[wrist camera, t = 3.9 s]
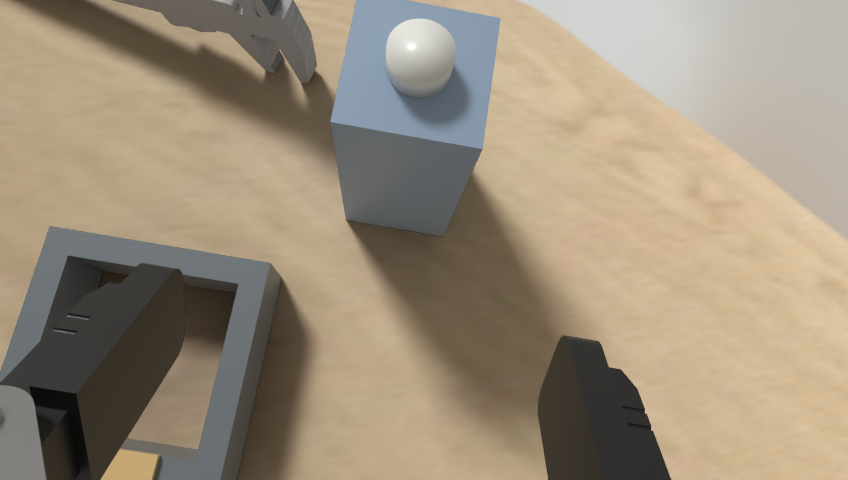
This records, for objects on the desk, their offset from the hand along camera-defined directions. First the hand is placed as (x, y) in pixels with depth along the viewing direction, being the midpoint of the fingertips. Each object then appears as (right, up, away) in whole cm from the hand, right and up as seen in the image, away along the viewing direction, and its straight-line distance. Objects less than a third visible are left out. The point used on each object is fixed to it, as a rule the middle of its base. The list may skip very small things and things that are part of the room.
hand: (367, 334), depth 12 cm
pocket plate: (-10, -3, +12) cm, 16 cm away
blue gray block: (0, +5, +15) cm, 16 cm away
